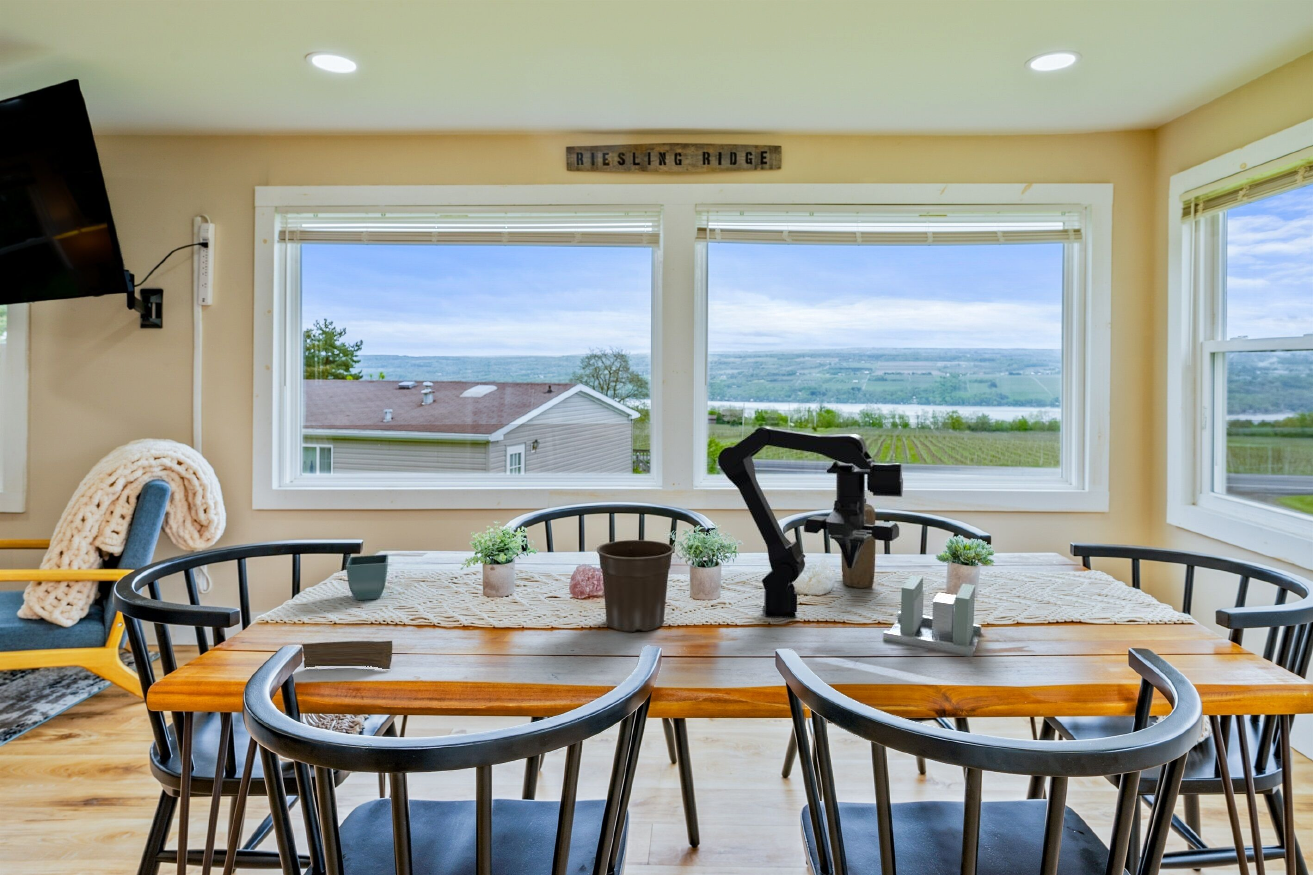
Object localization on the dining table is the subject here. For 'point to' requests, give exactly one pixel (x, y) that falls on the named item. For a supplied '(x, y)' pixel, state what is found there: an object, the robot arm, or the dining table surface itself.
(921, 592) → the bar
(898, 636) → the vise base
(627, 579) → the plant pot
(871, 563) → the block
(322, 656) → the wood plank
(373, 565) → the flower pot
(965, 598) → the fixed jaw
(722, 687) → the dining table surface
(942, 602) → the steel block
